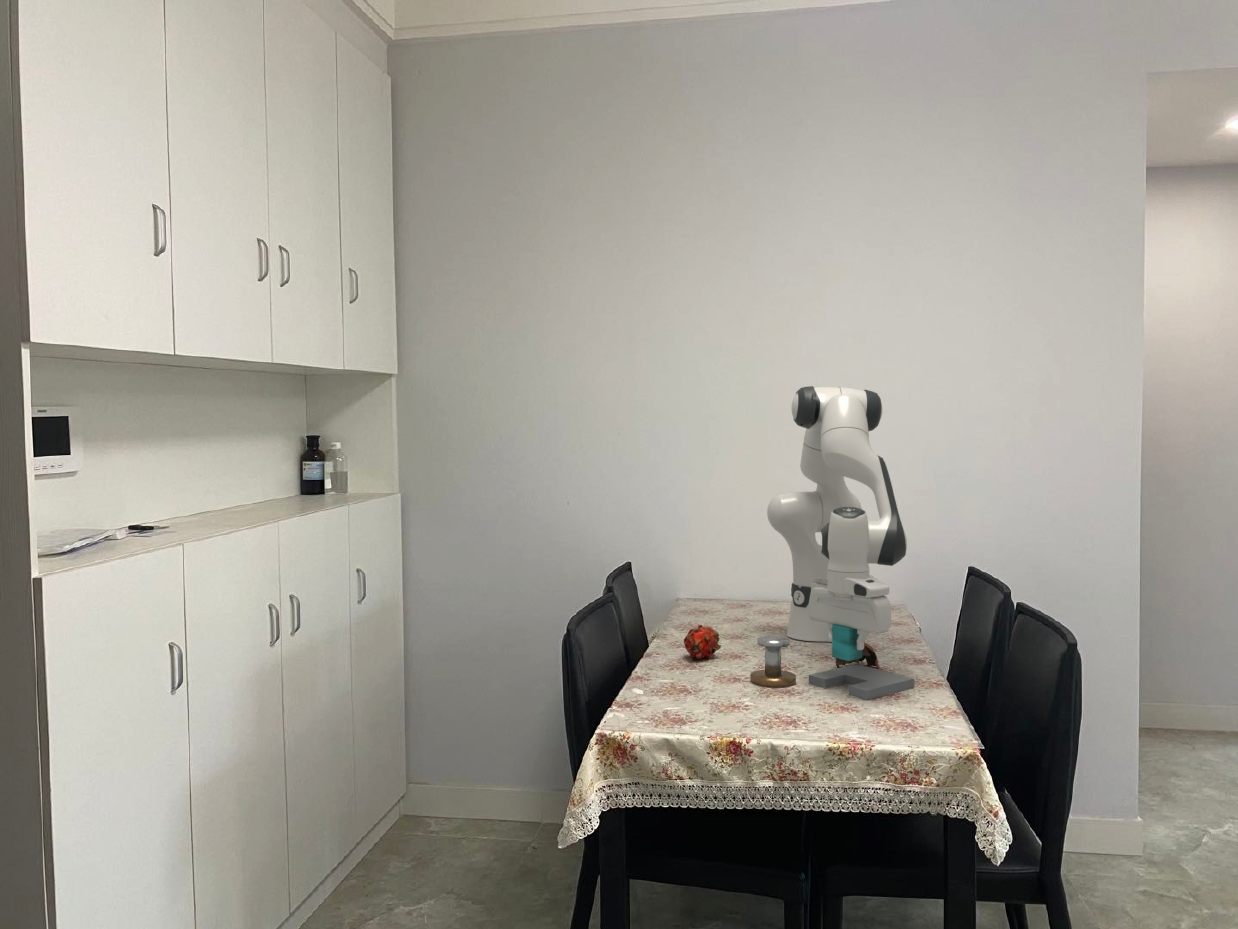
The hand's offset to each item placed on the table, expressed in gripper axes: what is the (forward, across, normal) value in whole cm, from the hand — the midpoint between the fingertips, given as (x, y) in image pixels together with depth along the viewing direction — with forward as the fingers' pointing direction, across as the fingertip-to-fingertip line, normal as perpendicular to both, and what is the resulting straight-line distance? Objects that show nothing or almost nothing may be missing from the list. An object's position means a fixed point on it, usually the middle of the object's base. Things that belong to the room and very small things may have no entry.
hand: (847, 647), depth 216 cm
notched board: (+9, 0, +5) cm, 10 cm away
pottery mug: (+10, -11, +17) cm, 22 cm away
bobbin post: (+9, -14, -8) cm, 19 cm away
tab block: (+2, 0, 0) cm, 2 cm away
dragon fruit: (+9, -40, -6) cm, 42 cm away
